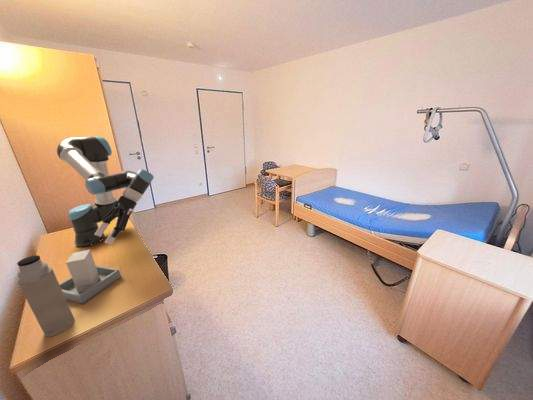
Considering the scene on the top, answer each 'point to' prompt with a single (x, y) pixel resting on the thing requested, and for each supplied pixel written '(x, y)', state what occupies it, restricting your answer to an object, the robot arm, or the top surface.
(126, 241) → the top surface
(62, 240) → the top surface
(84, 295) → the tray
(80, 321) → the top surface
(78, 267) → the skincare box
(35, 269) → the thermos bottle
